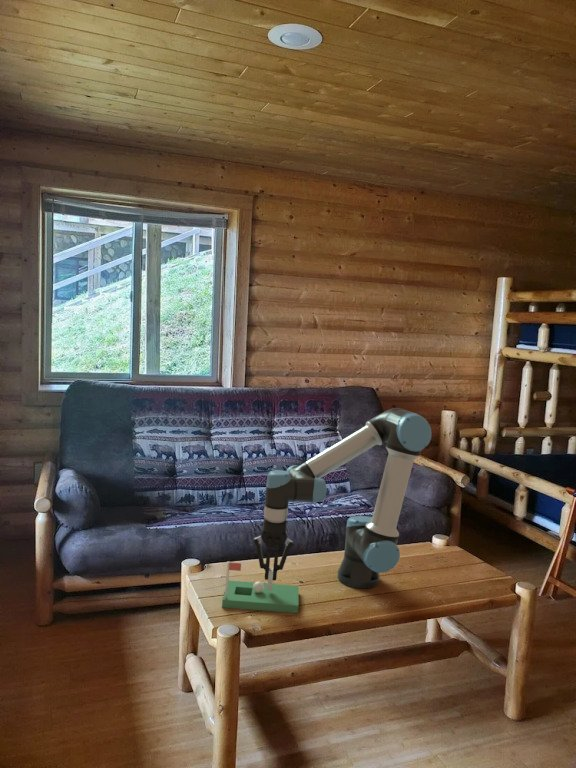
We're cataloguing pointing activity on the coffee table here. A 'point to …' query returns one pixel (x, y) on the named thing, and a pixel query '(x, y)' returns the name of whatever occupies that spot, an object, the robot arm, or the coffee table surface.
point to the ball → (258, 587)
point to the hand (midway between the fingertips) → (269, 588)
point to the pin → (229, 567)
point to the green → (261, 597)
